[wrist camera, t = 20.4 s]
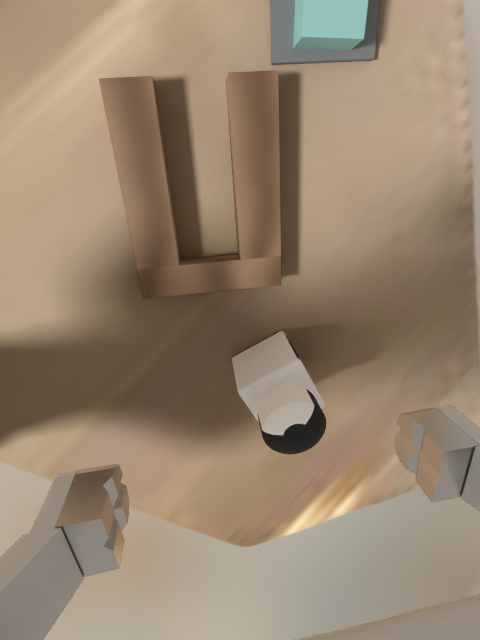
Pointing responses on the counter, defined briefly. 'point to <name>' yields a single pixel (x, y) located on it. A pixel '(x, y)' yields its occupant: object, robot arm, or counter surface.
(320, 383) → the counter surface
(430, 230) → the counter surface
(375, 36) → the slate mat
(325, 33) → the block
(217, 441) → the counter surface
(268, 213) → the channel board
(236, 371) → the white black angular body
